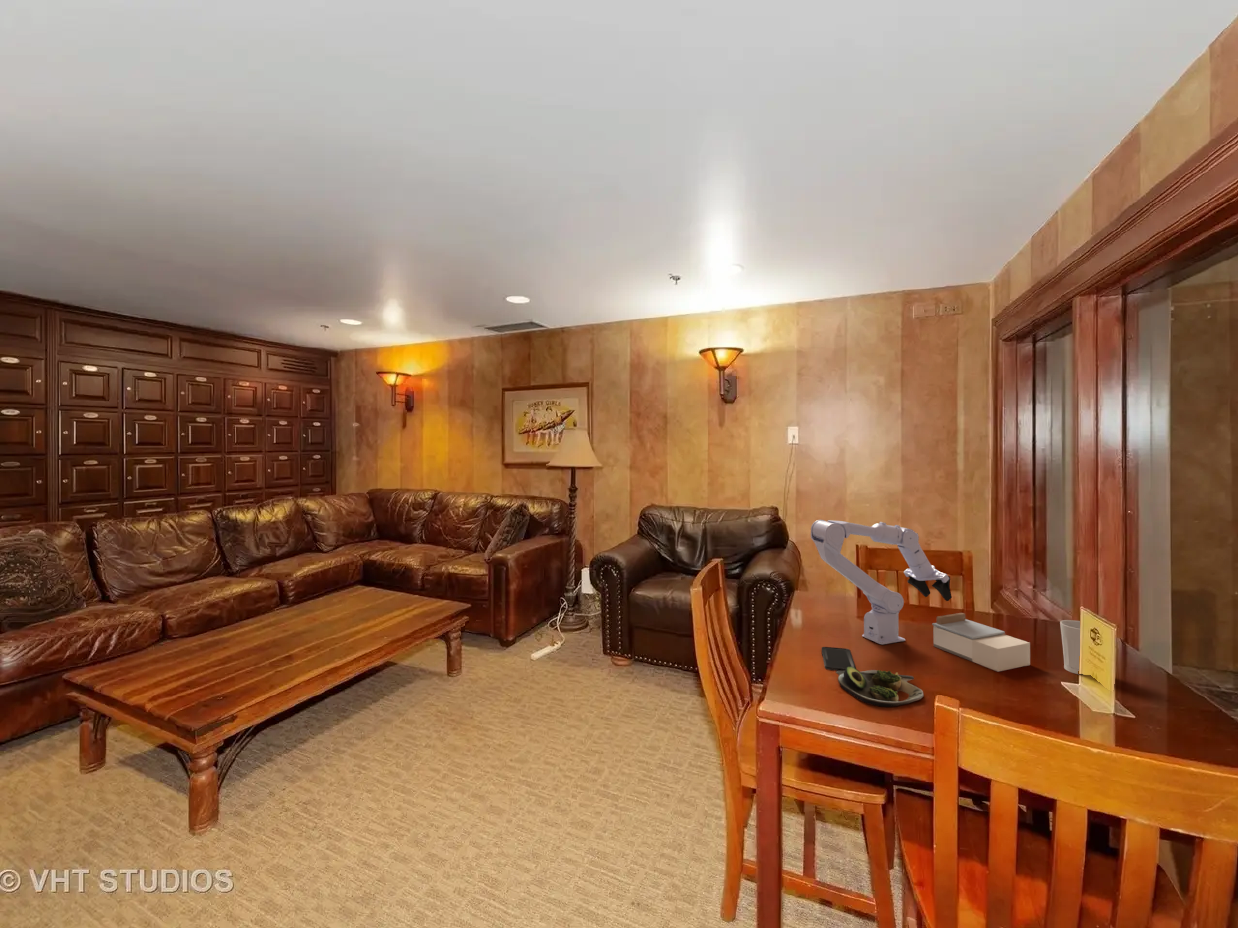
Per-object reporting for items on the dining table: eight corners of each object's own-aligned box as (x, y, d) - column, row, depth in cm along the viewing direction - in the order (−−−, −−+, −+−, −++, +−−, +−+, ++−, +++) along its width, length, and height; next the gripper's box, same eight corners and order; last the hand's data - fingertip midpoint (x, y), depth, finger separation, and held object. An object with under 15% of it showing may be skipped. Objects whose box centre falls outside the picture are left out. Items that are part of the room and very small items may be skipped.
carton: (997, 671, 136) (997, 648, 136) (933, 646, 154) (933, 626, 154) (1030, 664, 140) (1030, 642, 140) (963, 640, 158) (963, 621, 158)
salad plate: (889, 670, 139) (889, 653, 139) (945, 701, 122) (945, 682, 121) (825, 679, 135) (825, 661, 134) (874, 712, 117) (873, 692, 117)
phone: (849, 648, 152) (856, 669, 137) (849, 652, 152) (856, 673, 137) (820, 646, 154) (824, 666, 140) (821, 650, 154) (824, 670, 140)
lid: (972, 639, 142) (972, 630, 142) (932, 625, 154) (932, 616, 154) (1004, 633, 146) (1004, 624, 146) (963, 619, 158) (963, 611, 158)
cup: (1093, 667, 137) (1093, 622, 137) (1106, 679, 130) (1106, 631, 130) (1055, 662, 141) (1055, 618, 141) (1066, 674, 134) (1066, 627, 133)
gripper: (945, 555, 156) (967, 592, 157) (906, 551, 170) (926, 586, 171) (931, 569, 154) (952, 607, 155) (892, 564, 168) (912, 598, 169)
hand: (938, 597), depth 163 cm, fingers open, 7 cm apart
